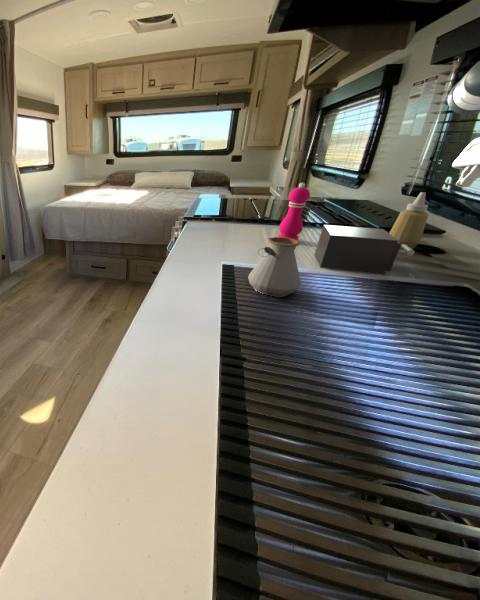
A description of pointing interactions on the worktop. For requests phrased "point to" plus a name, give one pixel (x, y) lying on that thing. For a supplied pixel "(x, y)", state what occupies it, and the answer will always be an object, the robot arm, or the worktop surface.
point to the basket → (403, 248)
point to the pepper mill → (294, 213)
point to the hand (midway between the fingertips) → (461, 186)
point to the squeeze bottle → (411, 223)
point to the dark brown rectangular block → (355, 249)
